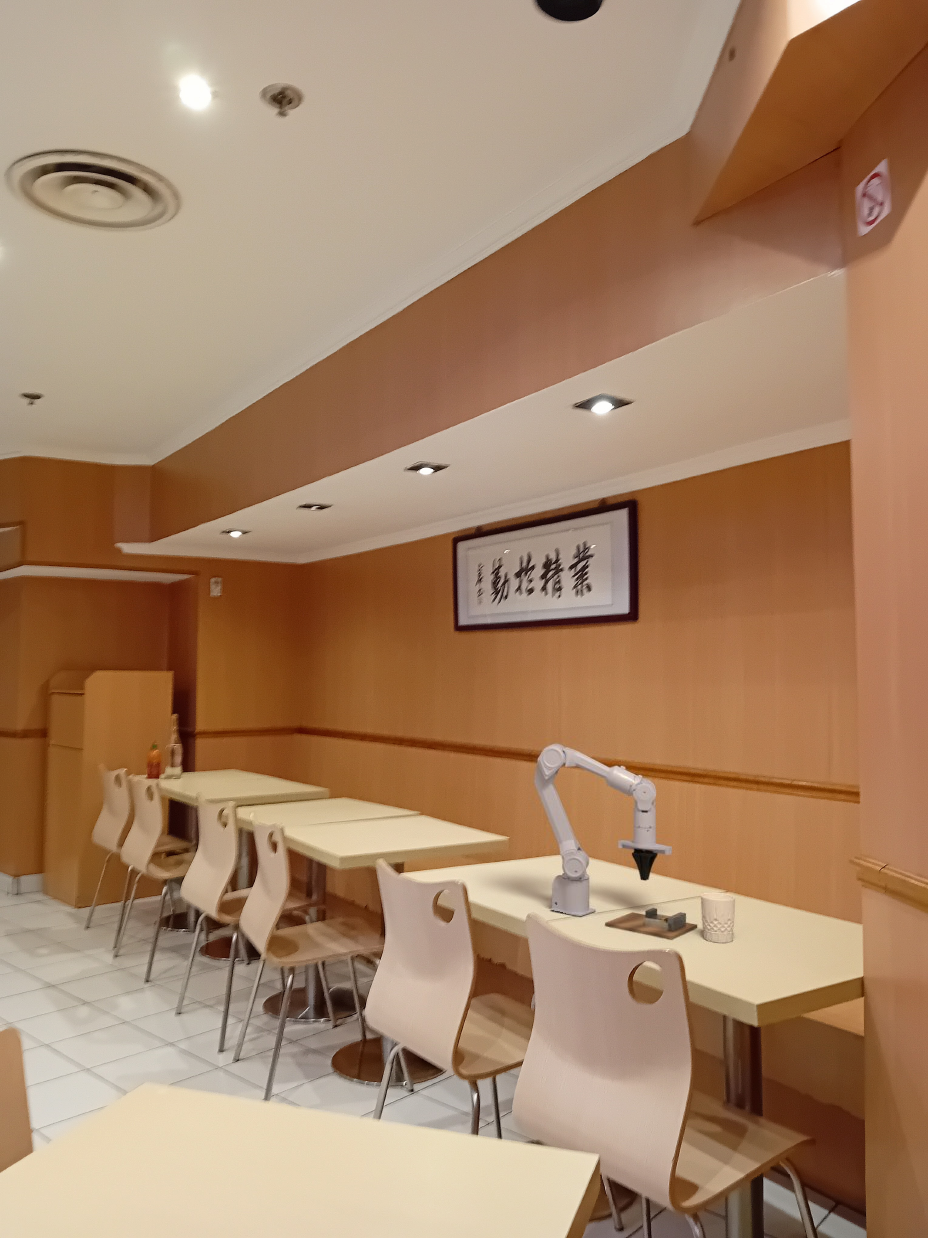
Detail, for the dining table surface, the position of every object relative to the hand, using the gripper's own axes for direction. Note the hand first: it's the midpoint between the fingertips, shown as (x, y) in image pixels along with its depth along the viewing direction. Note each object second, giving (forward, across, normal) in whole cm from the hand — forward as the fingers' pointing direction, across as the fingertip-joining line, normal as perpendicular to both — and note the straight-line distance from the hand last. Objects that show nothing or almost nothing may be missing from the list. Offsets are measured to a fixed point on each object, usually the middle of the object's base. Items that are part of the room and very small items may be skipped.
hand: (644, 879), depth 235 cm
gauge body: (+9, -10, +8) cm, 15 cm away
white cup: (+10, -23, +7) cm, 26 cm away
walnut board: (+9, -6, +8) cm, 14 cm away
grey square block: (+8, -9, +9) cm, 15 cm away
